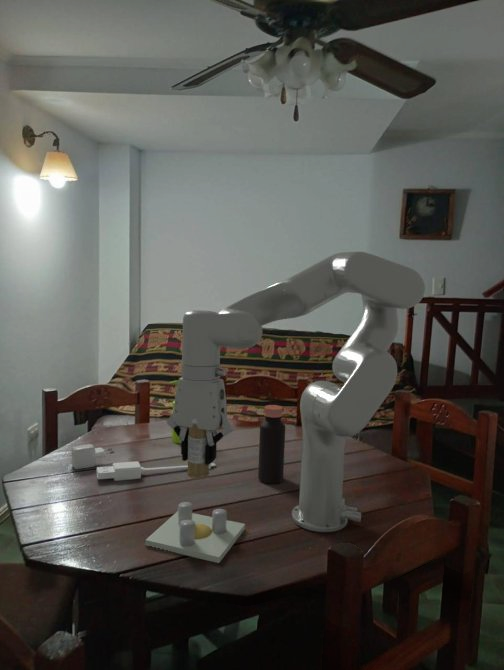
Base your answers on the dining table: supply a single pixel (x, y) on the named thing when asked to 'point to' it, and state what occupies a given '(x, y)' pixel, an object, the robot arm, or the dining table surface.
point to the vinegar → (271, 446)
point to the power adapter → (87, 455)
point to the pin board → (197, 534)
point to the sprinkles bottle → (197, 452)
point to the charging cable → (129, 470)
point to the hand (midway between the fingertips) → (198, 459)
